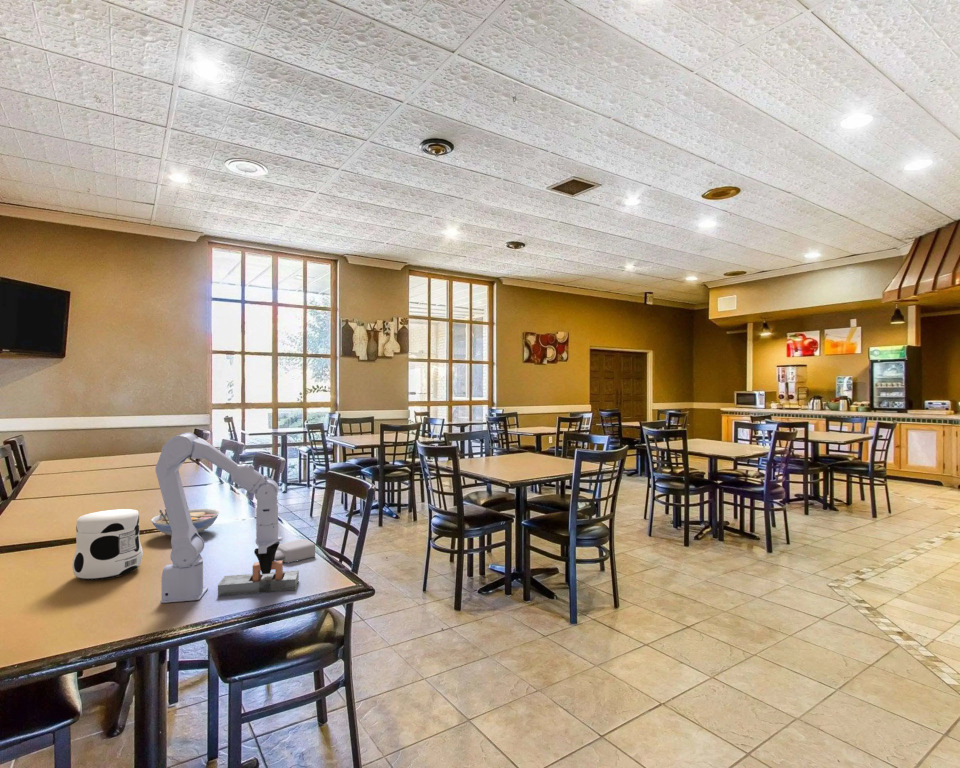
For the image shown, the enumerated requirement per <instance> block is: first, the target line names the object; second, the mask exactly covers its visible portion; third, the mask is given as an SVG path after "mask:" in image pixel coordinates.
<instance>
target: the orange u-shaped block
mask: <svg viewBox="0 0 960 768" xmlns="http://www.w3.org/2000/svg"><path fill="white" fill-rule="evenodd" d="M283 565H284V561H283V560H274V561H272V567H271V571H273V570H274V571H275V579H283V572H284V569H283V568H284V566H283ZM260 573H261V568H260V564H259V561H258V562H257V561H255V562H254V563H253V565H252V574H253V581H259V580H260Z"/></svg>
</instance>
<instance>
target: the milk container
mask: <svg viewBox="0 0 960 768" xmlns="http://www.w3.org/2000/svg"><path fill="white" fill-rule="evenodd" d="M75 529H76V530H75V531H76V532H75V533H76V534H75V538H76V540H75V541H76V544H75V545H76V546H75V547H76V548H75V552H74V555H73V558H72V562H71V563H72V571H73V575H74V577H76V578H77V579H79V580H83V581H102V580H109V579H115V578H118V577H122V576H125V575H127V574H130V573H132V572H134V571H135V570H137V569H138V568H139V567H140V566H141V564H142V561H143V557H144V555H143V554H144V553H143V547H142V544H141V540H140V515H139V510H137V509H130V508H126V509H125V508H120V509H108V510H100V511H95V512H90V513H87V514H83V515H81V516H79V517H78V518H77V520H76V527H75Z"/></svg>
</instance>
